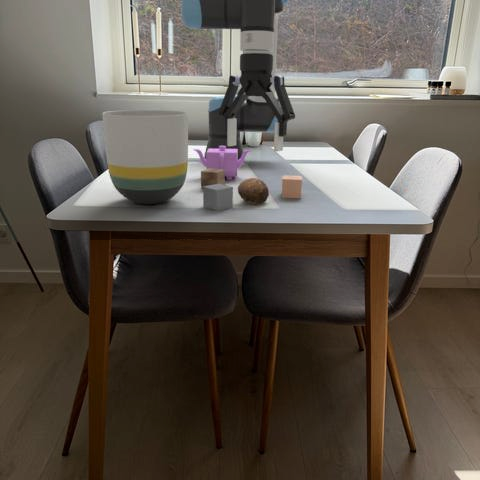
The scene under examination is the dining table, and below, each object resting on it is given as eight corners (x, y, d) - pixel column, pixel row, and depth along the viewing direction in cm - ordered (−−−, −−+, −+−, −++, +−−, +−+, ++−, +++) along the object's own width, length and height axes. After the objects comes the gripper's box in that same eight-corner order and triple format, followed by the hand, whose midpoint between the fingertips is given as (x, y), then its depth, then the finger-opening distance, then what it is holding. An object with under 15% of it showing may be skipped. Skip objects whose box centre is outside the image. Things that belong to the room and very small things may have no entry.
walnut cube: (201, 188, 129) (200, 171, 127) (208, 185, 133) (208, 168, 131) (217, 190, 127) (217, 172, 125) (224, 186, 131) (224, 169, 130)
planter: (196, 209, 108) (194, 115, 101) (110, 215, 103) (102, 116, 96) (182, 190, 126) (180, 109, 119) (108, 194, 121) (101, 110, 113)
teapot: (250, 173, 150) (251, 143, 147) (251, 182, 138) (252, 149, 134) (195, 172, 150) (195, 142, 147) (191, 181, 138) (190, 148, 134)
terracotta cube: (281, 197, 120) (282, 179, 119) (282, 193, 125) (282, 175, 123) (300, 198, 120) (301, 179, 118) (300, 194, 124) (301, 175, 123)
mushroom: (235, 184, 119) (244, 167, 115) (263, 196, 121) (273, 179, 116) (231, 206, 114) (240, 189, 109) (260, 217, 115) (271, 201, 111)
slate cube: (203, 206, 111) (203, 186, 109) (219, 203, 114) (219, 183, 113) (216, 211, 108) (216, 190, 106) (232, 207, 111) (232, 187, 109)
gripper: (203, 53, 108) (204, 145, 115) (296, 50, 94) (291, 155, 101) (223, 55, 114) (223, 142, 121) (313, 52, 100) (307, 151, 107)
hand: (254, 148), depth 111 cm, fingers open, 13 cm apart
